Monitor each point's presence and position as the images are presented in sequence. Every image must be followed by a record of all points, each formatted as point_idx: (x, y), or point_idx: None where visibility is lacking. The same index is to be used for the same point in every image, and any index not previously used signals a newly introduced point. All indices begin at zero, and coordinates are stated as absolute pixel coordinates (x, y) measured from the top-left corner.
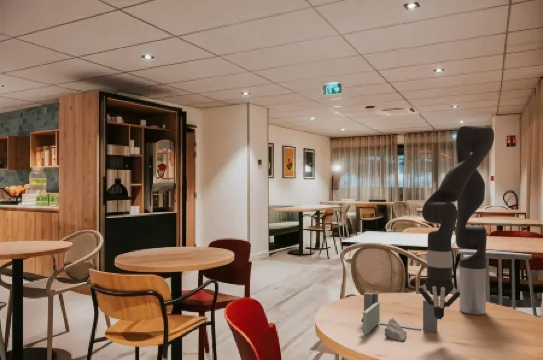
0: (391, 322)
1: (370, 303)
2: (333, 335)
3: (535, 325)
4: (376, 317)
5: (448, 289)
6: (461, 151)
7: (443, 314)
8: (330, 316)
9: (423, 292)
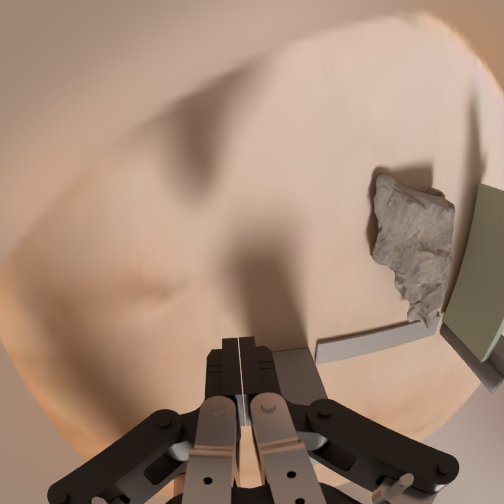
0: (440, 276)
1: (495, 346)
2: None
3: (76, 449)
4: (469, 304)
5: None
6: None
7: (207, 366)
8: None
9: (409, 463)
